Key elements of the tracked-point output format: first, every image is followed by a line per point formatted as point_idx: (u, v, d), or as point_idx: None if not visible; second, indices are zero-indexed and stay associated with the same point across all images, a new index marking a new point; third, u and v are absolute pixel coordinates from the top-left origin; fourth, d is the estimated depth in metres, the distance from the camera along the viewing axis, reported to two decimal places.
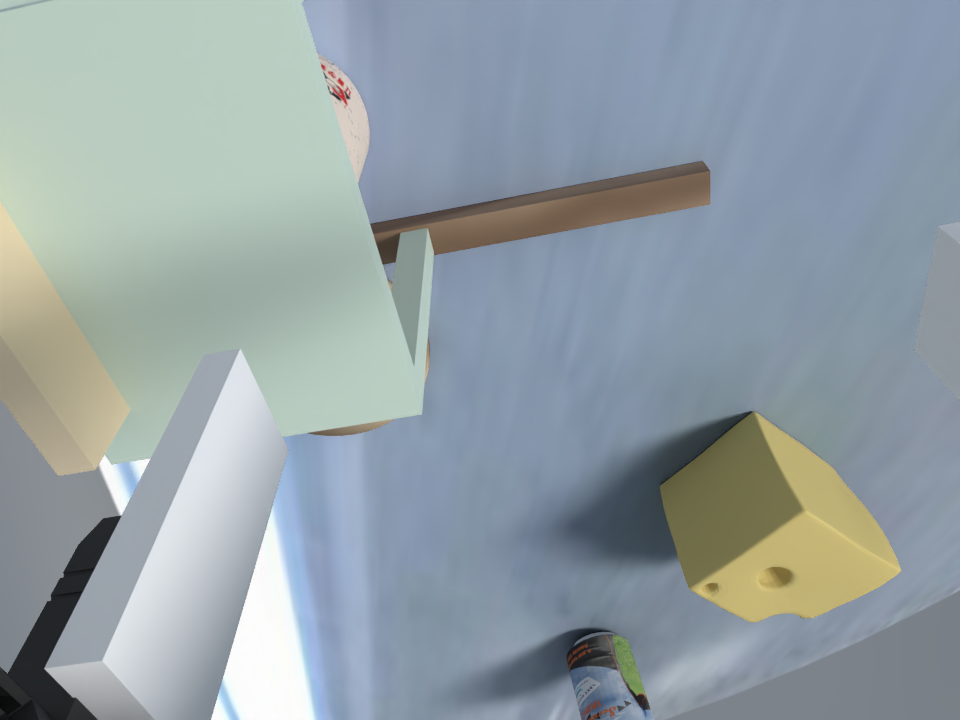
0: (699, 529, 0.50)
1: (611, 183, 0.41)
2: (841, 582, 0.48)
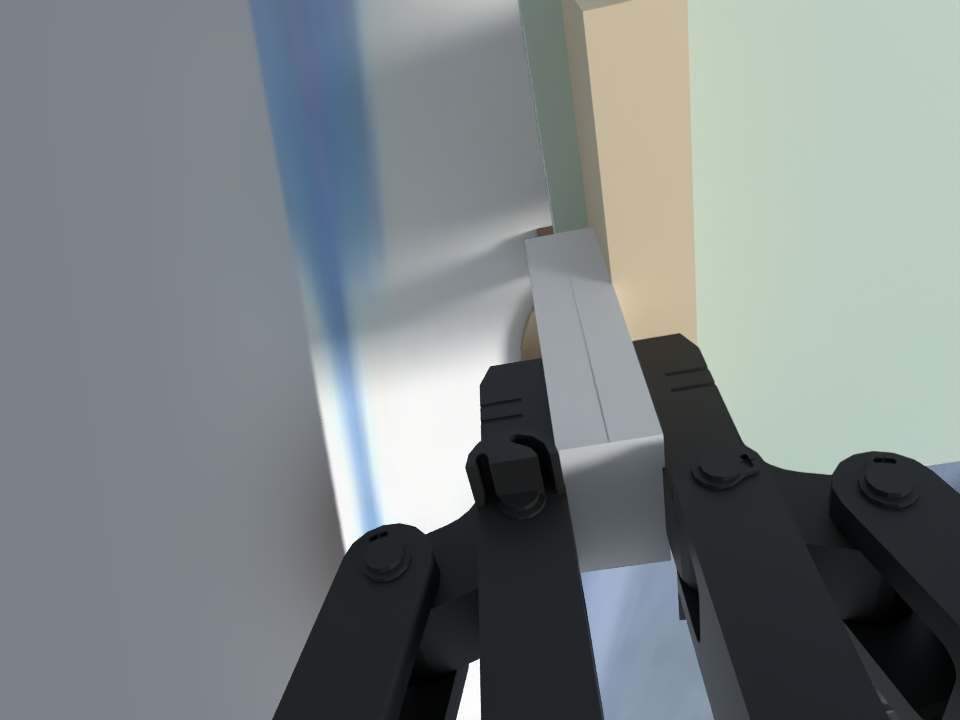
0: None
1: None
2: None
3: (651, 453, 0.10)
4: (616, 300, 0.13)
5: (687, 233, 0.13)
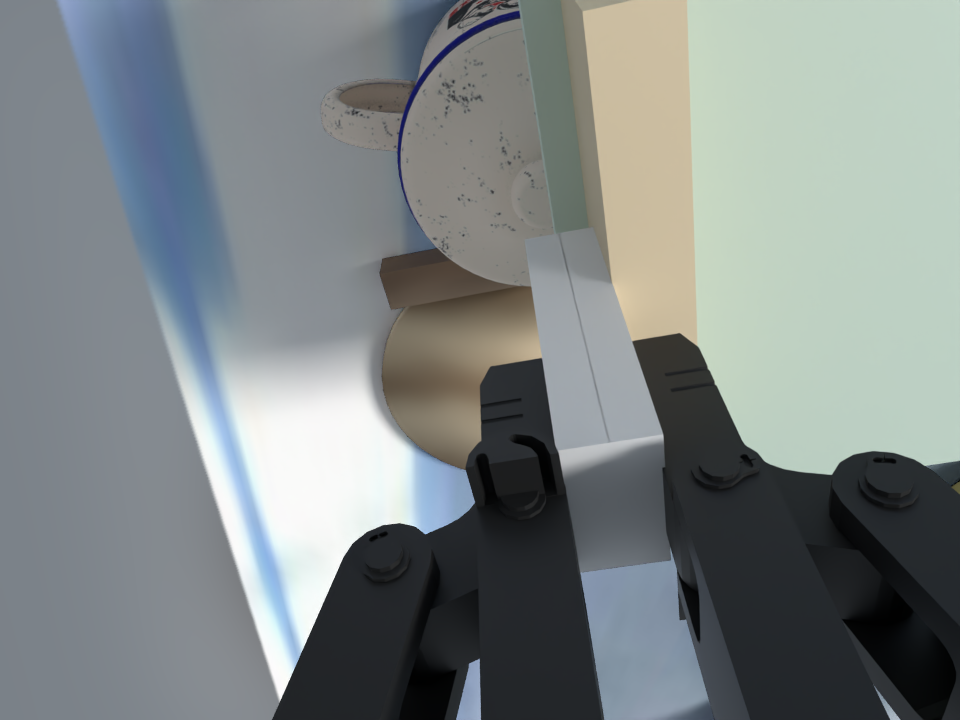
0: None
1: None
2: None
3: (651, 453, 0.10)
4: (616, 300, 0.13)
5: (687, 233, 0.13)
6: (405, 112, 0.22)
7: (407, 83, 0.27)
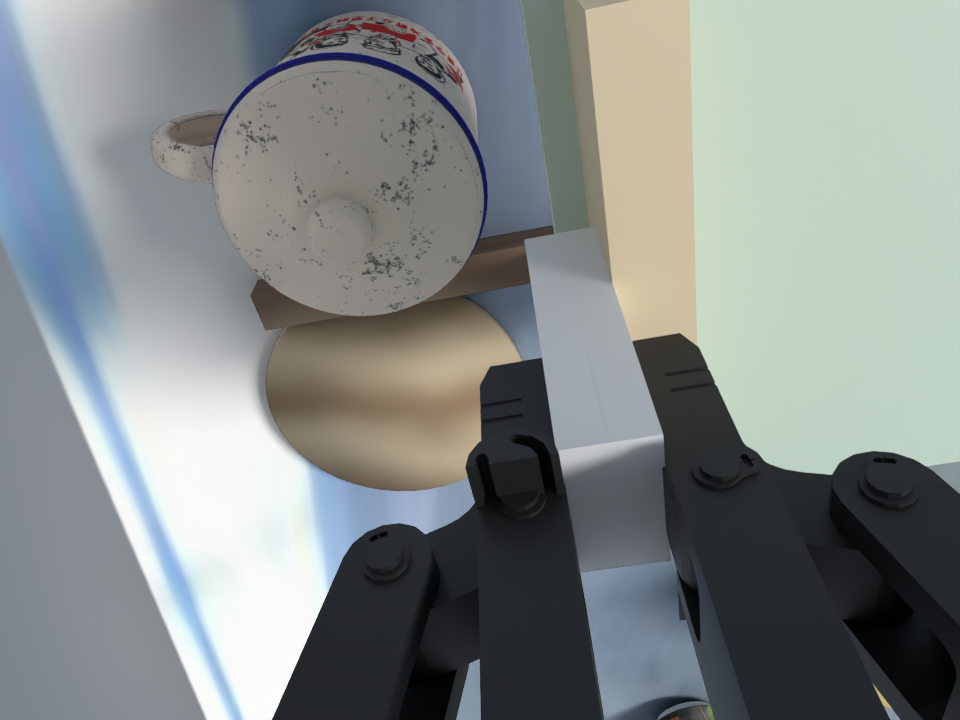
0: None
1: None
2: None
3: (651, 453, 0.10)
4: (616, 300, 0.13)
5: (687, 232, 0.13)
6: (214, 149, 0.23)
7: None
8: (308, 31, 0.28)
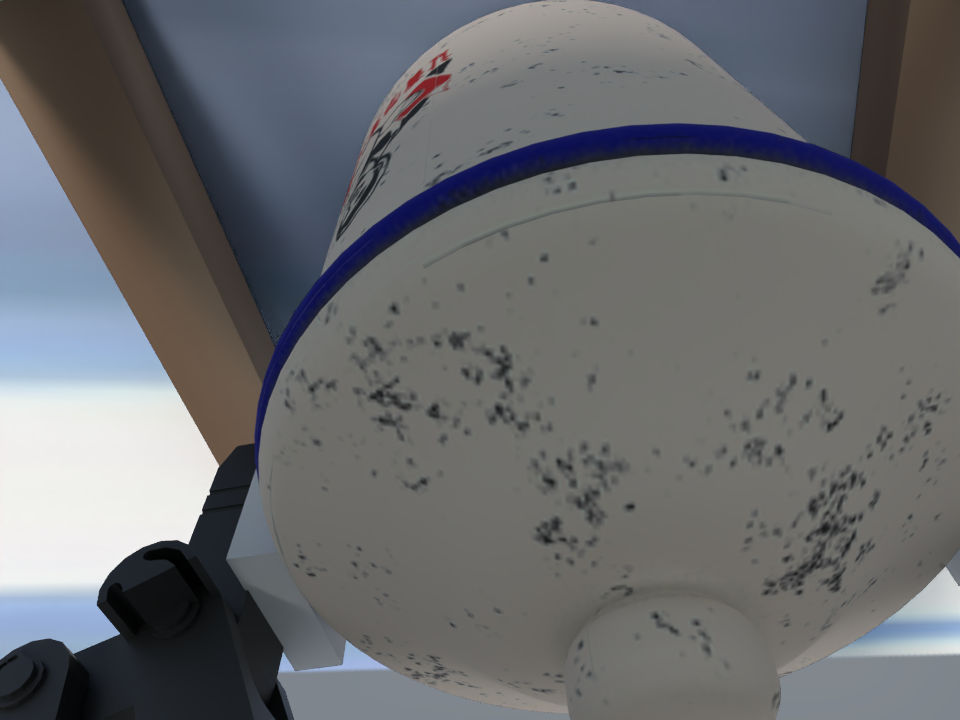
0: None
1: None
2: None
3: None
4: None
5: None
6: None
7: None
8: None
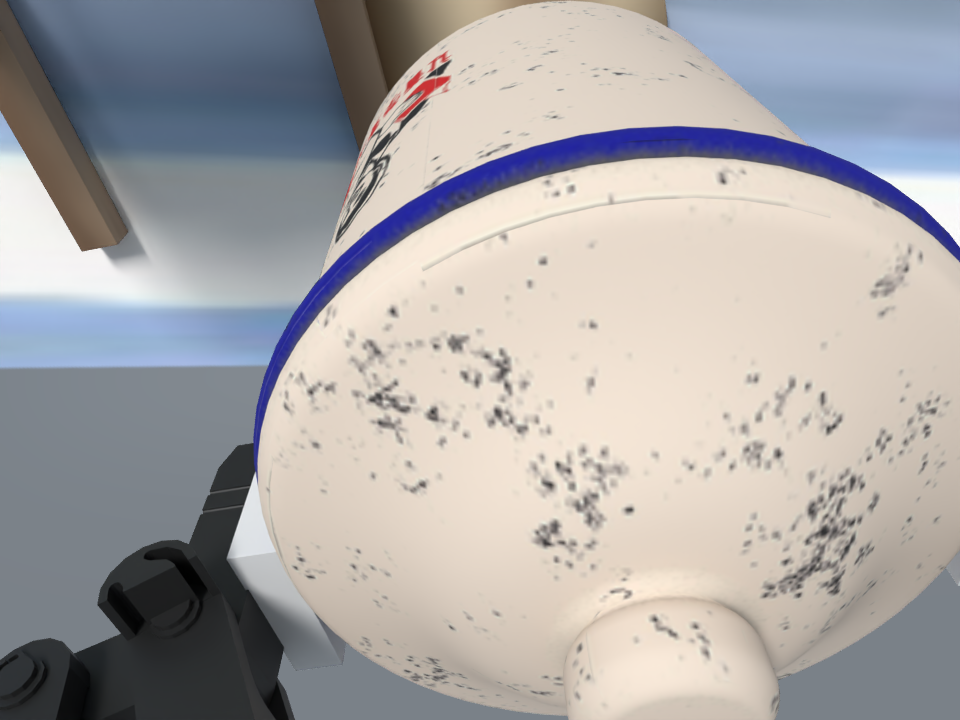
0: None
1: None
2: None
3: None
4: None
5: None
6: None
7: None
8: None
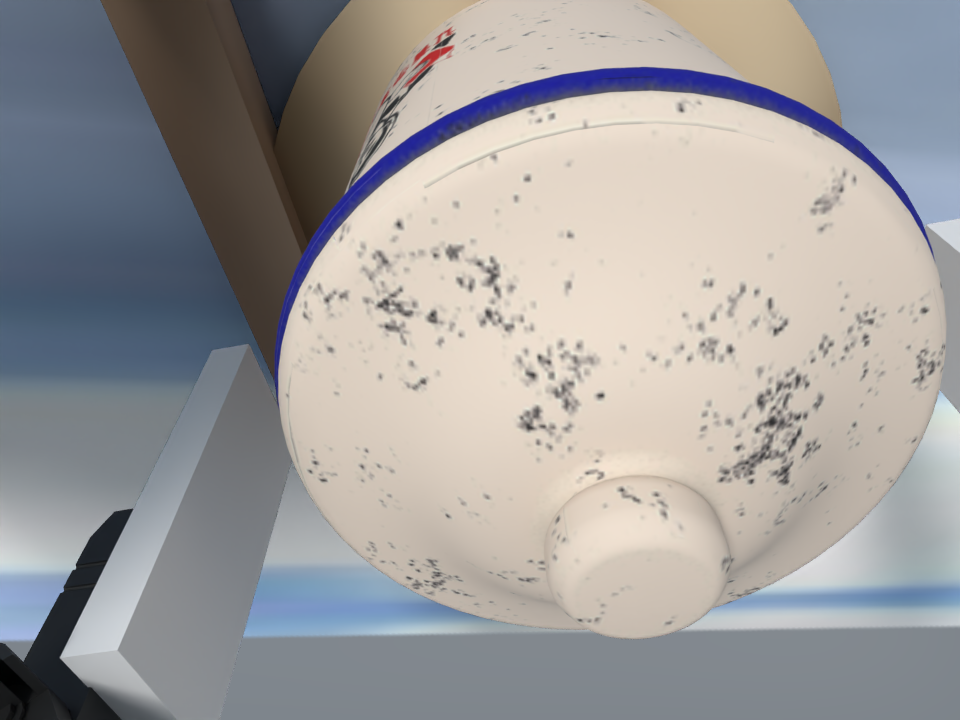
0: None
1: None
2: None
3: None
4: None
5: None
6: None
7: None
8: None
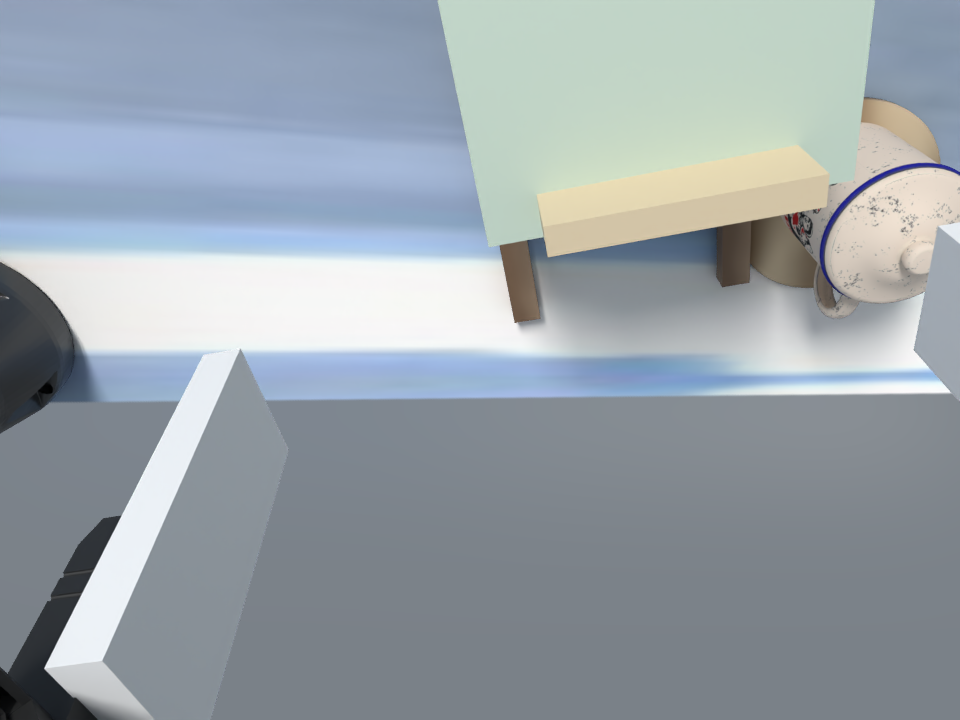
0: None
1: None
2: None
3: None
4: None
5: (633, 212, 0.31)
6: (849, 297, 0.46)
7: None
8: (783, 219, 0.50)
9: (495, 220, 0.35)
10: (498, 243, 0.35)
